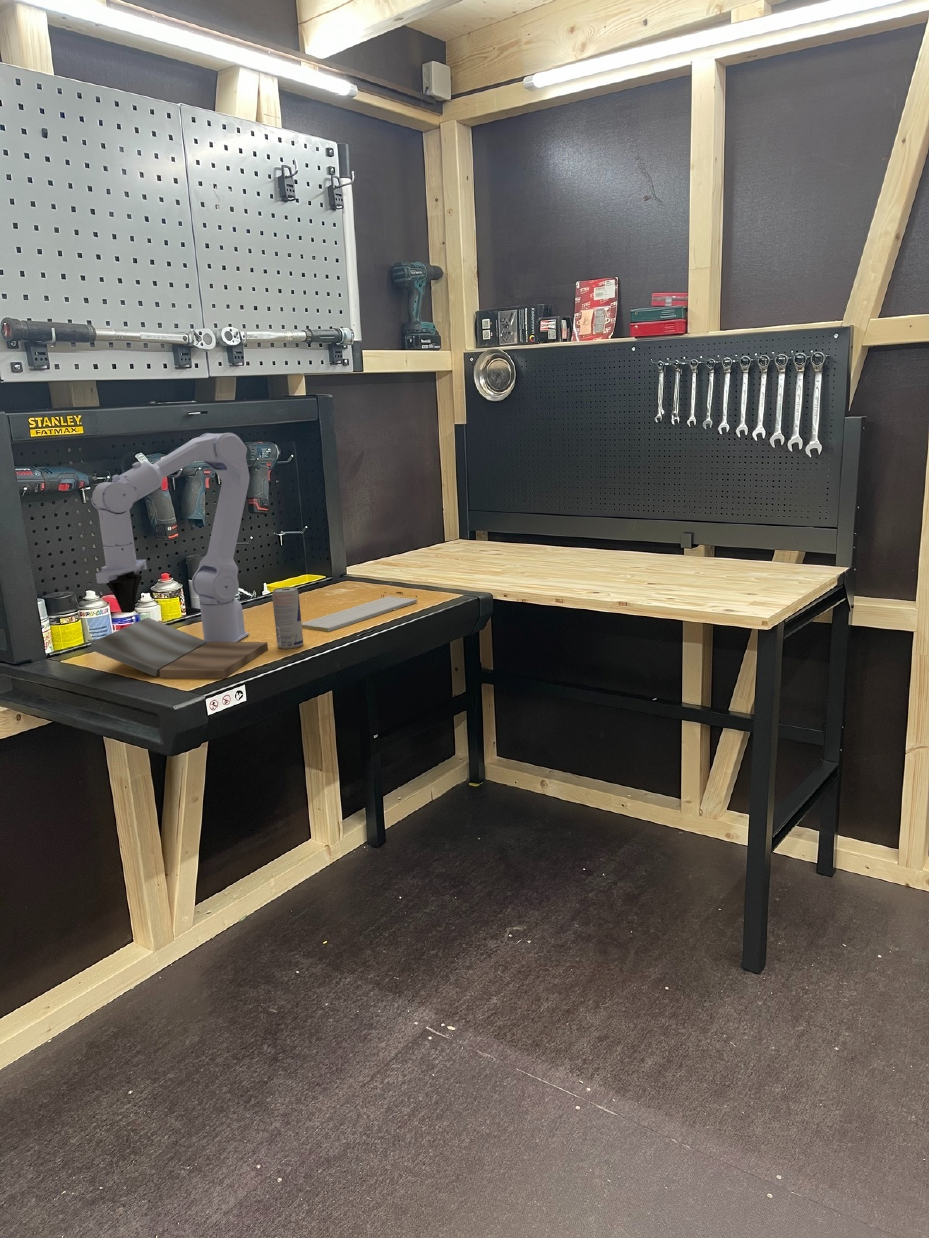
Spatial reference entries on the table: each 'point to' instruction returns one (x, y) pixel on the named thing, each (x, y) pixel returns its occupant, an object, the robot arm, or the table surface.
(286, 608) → the energy drink
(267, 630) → the table surface
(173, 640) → the plank
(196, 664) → the laid board
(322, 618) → the baseboard molding
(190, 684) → the table surface
